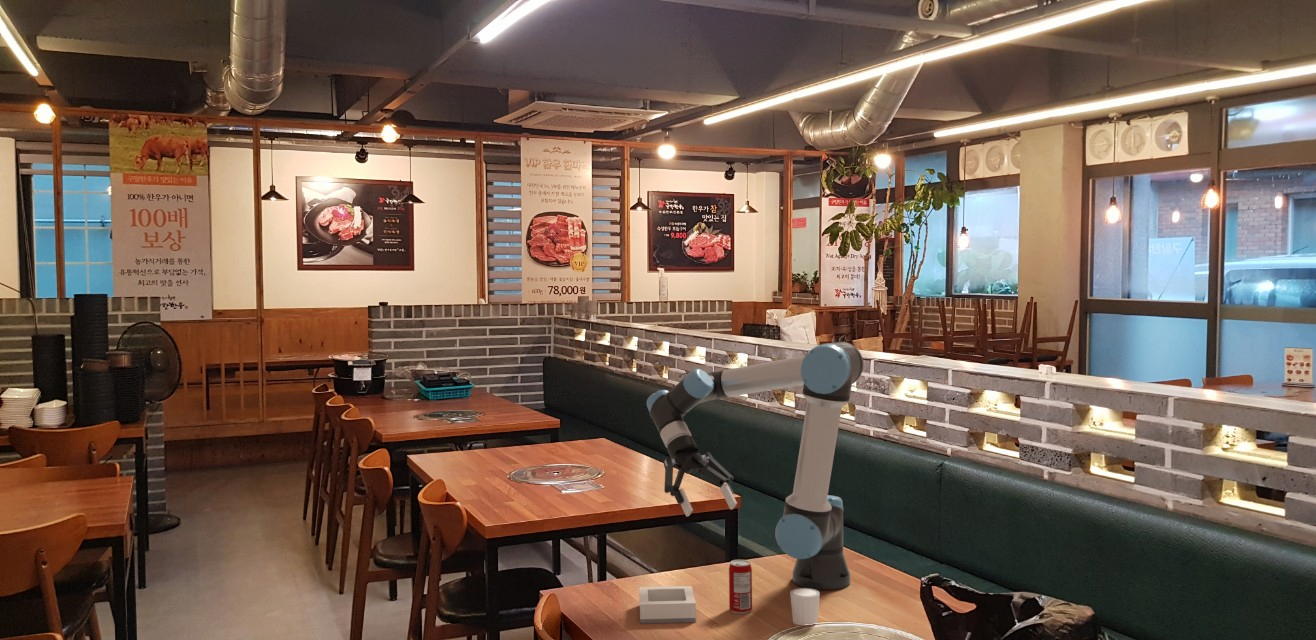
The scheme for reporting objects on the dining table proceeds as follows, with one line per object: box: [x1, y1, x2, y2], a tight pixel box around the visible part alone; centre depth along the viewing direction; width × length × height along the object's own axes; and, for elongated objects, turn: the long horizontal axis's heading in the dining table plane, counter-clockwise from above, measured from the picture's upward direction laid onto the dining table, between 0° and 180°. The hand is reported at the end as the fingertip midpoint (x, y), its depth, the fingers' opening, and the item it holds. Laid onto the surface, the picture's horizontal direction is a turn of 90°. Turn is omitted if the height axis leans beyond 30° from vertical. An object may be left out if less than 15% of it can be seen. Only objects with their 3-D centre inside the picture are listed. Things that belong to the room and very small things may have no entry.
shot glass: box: [789, 587, 821, 626], centre depth 224 cm, size 7×7×7 cm
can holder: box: [638, 585, 697, 624], centre depth 230 cm, size 13×13×4 cm
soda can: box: [728, 559, 753, 615], centre depth 232 cm, size 6×6×12 cm
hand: (712, 510), depth 241 cm, fingers open, 13 cm apart
